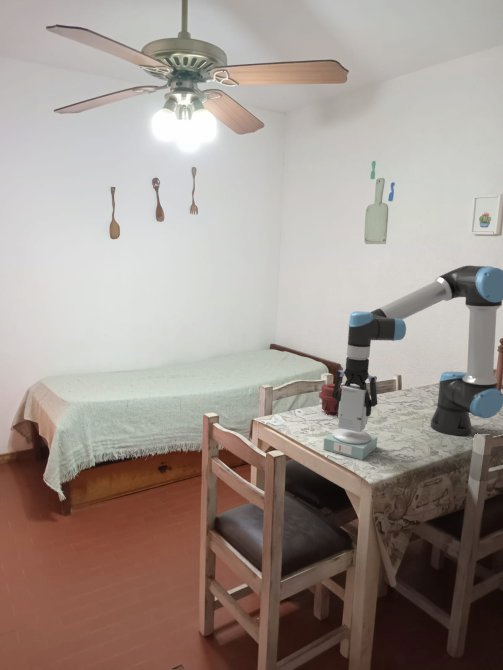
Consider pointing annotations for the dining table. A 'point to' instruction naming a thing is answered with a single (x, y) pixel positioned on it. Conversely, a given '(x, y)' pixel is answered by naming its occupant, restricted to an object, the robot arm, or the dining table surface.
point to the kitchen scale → (350, 443)
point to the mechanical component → (328, 399)
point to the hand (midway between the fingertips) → (352, 421)
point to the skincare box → (352, 408)
